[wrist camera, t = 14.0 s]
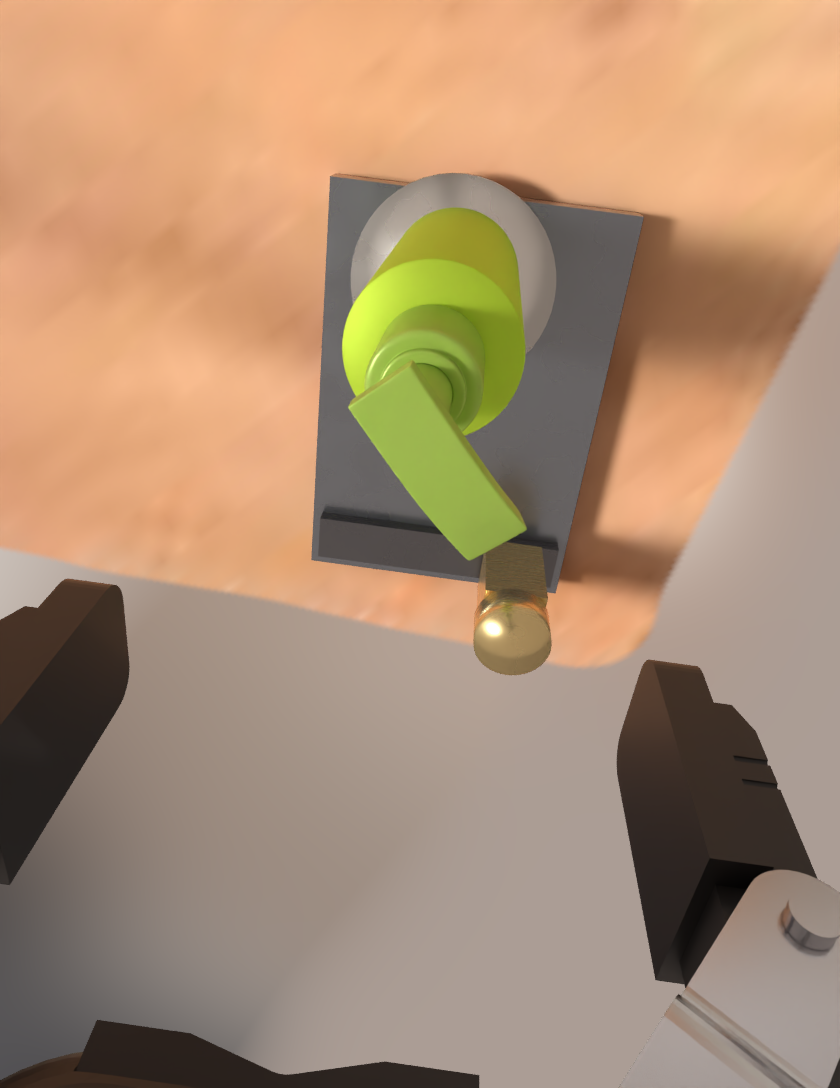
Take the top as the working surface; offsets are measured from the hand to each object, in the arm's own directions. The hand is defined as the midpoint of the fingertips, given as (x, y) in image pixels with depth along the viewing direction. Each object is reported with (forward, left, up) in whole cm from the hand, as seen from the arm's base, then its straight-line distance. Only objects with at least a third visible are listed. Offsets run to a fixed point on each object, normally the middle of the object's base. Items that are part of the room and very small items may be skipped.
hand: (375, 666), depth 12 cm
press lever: (+14, +5, -27) cm, 31 cm away
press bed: (+6, +1, -30) cm, 31 cm away
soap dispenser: (0, 0, -29) cm, 29 cm away
